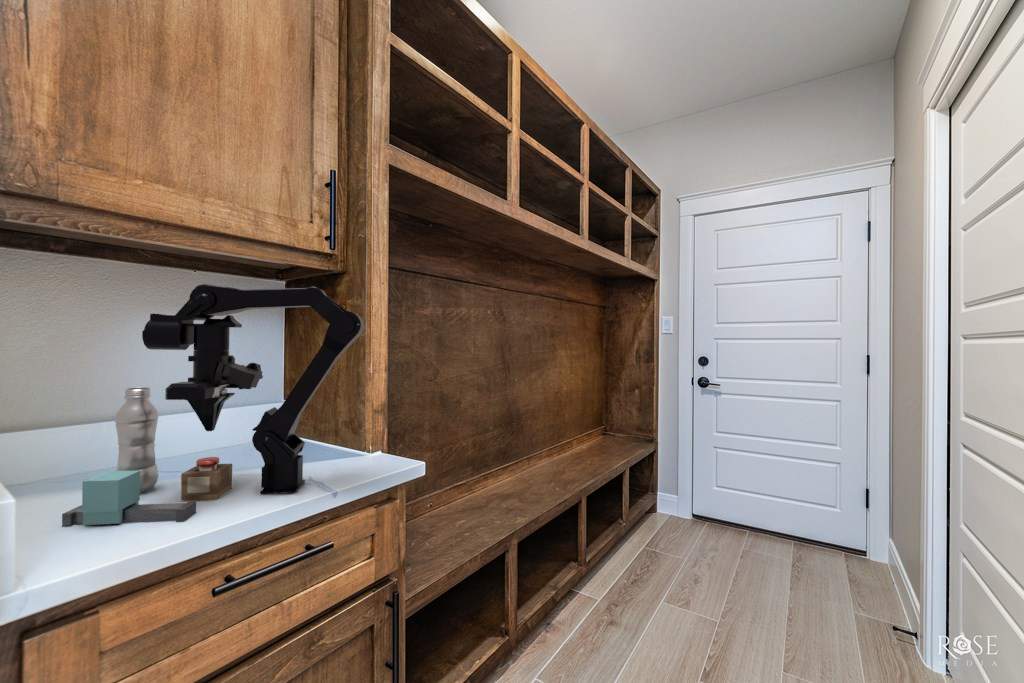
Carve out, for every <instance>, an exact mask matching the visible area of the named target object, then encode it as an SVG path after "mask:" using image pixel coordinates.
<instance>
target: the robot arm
mask: <svg viewBox="0 0 1024 683" xmlns="http://www.w3.org/2000/svg"><path fill="white" fill-rule="evenodd" d="M188 298H189V299H188V300H187V302H185V304H184V305H183V306H182V307H181V308H180V309H179V310H178V311H177V312H176V313H175V314H174V315H173V314H171V315H169V314H165V313H164V314H163V313H150V314H149V320H148V321H147V322H146V324H145V325H144V327H143V328H144V329H143V330H142V332H141V333H142V335H141V336H142V342H143V345H144V346H145V348H146V349H148V350H152V351H153V350H158V351H160V350H163V351H164V350H165V351H166V350H167V351H169V350H170V351H186V350H187V349H188V348H189V347H190V346H193V351H192V352H193V353H192V354H193V355H188V356H187V358H188V359H187V361H188V362H192V377H188V378H187V381H180V382H173V383H170V384H169V385H168V386H167V387H166V388H165V398H164V399H165V401H166V400H167V401H171V400H172V401H183V400H184V401H187V402H188V403H189V405H190V407H191V408H192V410H193V412H195V415H196V416H197V418H198V419H199V421H200V423H201V424H202V426H203V428H204V430H205V431H206V432H212V431H214V430H215V429H216V426H217V423H218V422H219V421H218V420H219V418H220V414H221V411H222V409H223V407H224V405H225V403H226V402H227V401H228V400H229V399H230V398H231V397H233V396H234V395H236V393H235V392H228V389H239V390H252V389H253V388H255V389H256V388H257V386H258V384H259V382H260V380H262V379H263V378H264V376H263V371H262V368H261V364H259V363H257V362H250V363H248V364H247V365H245V364H238V363H236V358H235V356H234V355H231V354H230V333H231V332H230V330H231V329H230V328H235V329H236V328H242V327H243V324H242V323H240V322H239V321H238V320H236V319H235V317H234V316H233V314H238V313H241V312H245V311H249V310H250V311H251V310H259V309H286V308H287V309H288V308H291V309H292V308H312V309H313V310H314V312H316V313H317V315H319V316H321V318H322V319H324V320H325V322H327V323H328V326H327V330H326V332H325V334H324V338H323V341H322V343H321V344H322V345H321V346H320V348H319V350H318V351H317V353H316V354H315V356H314V357H313V359H312V360H311V362H309V364H308V366H307V367H306V369H305V371H304V372H303V373H302V375H301V376H300V378H299V379H298V381H297V383H296V384H295V385H294V386H293V387H292V390H291V391H290V393H289V394H288V396H286V399H285V400H284V402H283V403H282V404H281V406H279V408H277V407H272V408H270V409H268V410H266V411H265V412H264V413H263V414H262V416H261V419H260V421H259V422H258V424H257V425H256V426H255V427H254V428H252V431H253V432H254V433H253V435H252V438H251V441H252V444H253V448H255V450H256V451H257V452H259V453H260V456H261V457H262V460H263V463H264V465H263V466H262V467H261V489H260V495H267V494H293V493H297V492H298V491H299V490H300V488H302V486H304V484H305V483H306V480H305V479H304V478H303V474H304V472H303V470H304V469H303V466H304V461H303V460H304V456H303V455H302V454H300V453H302V451H303V449H304V448H305V443H306V442H305V441H304V440H303V439H302V438H300V436H298V435H297V434H296V433H295V432H296V430H297V429H298V428H297V427H298V426H299V423H300V420H301V417H302V413H303V411H304V410H305V408H306V407H307V405H308V404H309V403H310V402H311V399H312V398H313V397H314V395H315V393H316V391H317V390H318V389H319V387H320V386H321V384H322V383H323V381H324V380H325V378H326V377H327V376H328V374H329V372H330V371H331V369H332V368H333V366H334V365H335V364H336V362H337V360H339V358H340V356H341V355H342V354H343V353H344V352H345V351H346V350H347V349H349V348H350V347H351V346H352V344H354V342H355V341H356V340H358V338H359V337H360V336H361V335H362V334H363V333H364V332H363V331H364V330H365V323H364V320H363V318H362V317H361V316H360V315H359V314H357V313H355V312H352V311H350V310H346V309H344V308H343V307H342V306H341V305H340V304H338V302H336V301H335V300H333V298H331V297H330V296H329V295H327V293H326V292H325V291H324V290H323V289H322V288H319V287H316V286H309V287H299V288H297V287H295V288H293V287H292V288H291V287H290V288H289V287H288V288H263V289H262V288H261V289H259V288H258V289H255V288H254V289H244V288H236V287H230V286H223V285H215V284H208V283H207V284H204V283H203V284H198V285H196V286H195V288H194V289H192V291H191V292H190V294H189V297H188ZM216 316H217V317H224V316H225V317H224V318H214V317H216ZM194 321H203V323H194Z"/></svg>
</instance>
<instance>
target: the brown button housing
mask: <svg viewBox="0 0 1024 683" xmlns="http://www.w3.org/2000/svg"><path fill="white" fill-rule="evenodd" d="M180 477H181V478H180V482H181V483H180V501H181V502H182V501H183V502H186V501H187V502H191V501H214V500H215V501H217V500H218V499H220V498H221V497H222V496H224V495H225V494H227V493H228V492H229V491H231V490H233V463H218V464H217V469H215V470H214V471H199V466H197V465H195V466H194V467H191V468H190V469H188V470H186V471H184V472H181V476H180ZM226 492H227V493H226ZM219 497H220V498H219Z"/></svg>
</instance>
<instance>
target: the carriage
mask: <svg viewBox="0 0 1024 683" xmlns="http://www.w3.org/2000/svg"><path fill="white" fill-rule="evenodd" d="M81 490H82V492H81V494H82V496H81V497H82V499H81V500H82V502H81V505H82V513H83V524H82V526H90V525H91V526H92V525H93V526H95V525H96V526H97V525H112V524H113V525H116V524H118V525H119V524H120V523H121V522H122V509H124V508H126V507H128V506H130V505H140V502H139V501H140V496H141V495H140V493H141V492H140V471H116V470H115V471H105V472H103V473H100V474H97V475H95V476H92V477H90V478H88V479H85V480H83V481H82V488H81ZM121 524H122V523H121Z"/></svg>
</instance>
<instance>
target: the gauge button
mask: <svg viewBox="0 0 1024 683" xmlns="http://www.w3.org/2000/svg"><path fill="white" fill-rule="evenodd" d="M217 464H220V457H217V456H208V457H207V456H206V457H202V458H198V459H197V460H196V464H195V466H199V471H214V470H215V469H217Z"/></svg>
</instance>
